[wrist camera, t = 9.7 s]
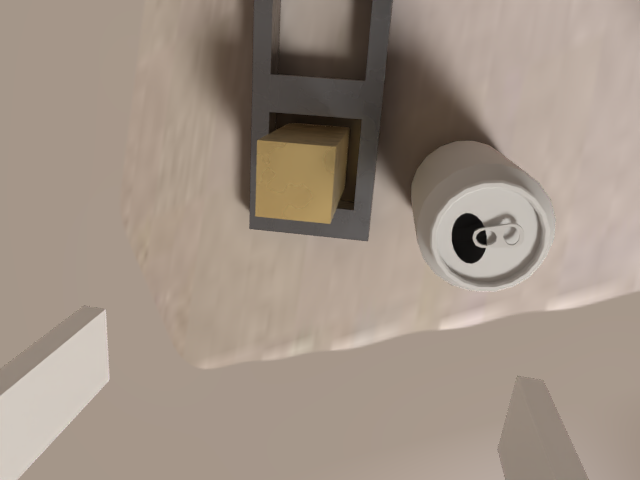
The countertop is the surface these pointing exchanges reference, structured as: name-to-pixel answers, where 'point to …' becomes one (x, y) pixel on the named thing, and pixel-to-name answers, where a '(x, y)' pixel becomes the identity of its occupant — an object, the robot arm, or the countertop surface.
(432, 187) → the can
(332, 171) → the brass block
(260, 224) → the rack
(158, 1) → the countertop surface
